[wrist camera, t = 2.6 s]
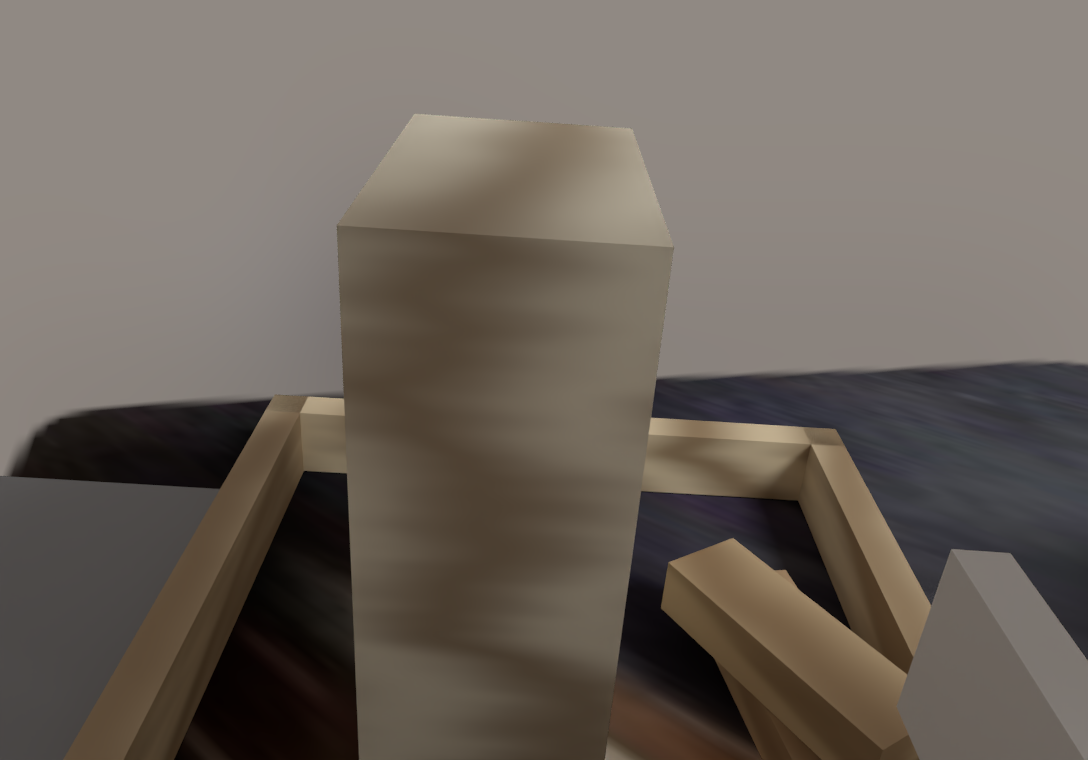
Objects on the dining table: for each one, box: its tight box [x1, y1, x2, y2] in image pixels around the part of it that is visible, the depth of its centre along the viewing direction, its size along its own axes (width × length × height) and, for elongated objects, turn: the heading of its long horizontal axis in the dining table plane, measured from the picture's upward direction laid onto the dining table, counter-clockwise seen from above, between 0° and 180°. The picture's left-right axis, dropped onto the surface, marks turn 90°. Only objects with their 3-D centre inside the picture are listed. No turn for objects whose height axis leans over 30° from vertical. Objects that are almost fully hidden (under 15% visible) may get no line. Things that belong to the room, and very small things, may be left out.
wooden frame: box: [63, 395, 931, 760], centre depth 31 cm, size 26×24×3 cm
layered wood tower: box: [337, 114, 674, 760], centre depth 25 cm, size 6×10×18 cm, turn 179°
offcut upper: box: [661, 538, 920, 760], centre depth 29 cm, size 3×9×2 cm, turn 33°
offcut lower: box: [715, 570, 822, 760], centre depth 30 cm, size 4×11×2 cm, turn 11°
